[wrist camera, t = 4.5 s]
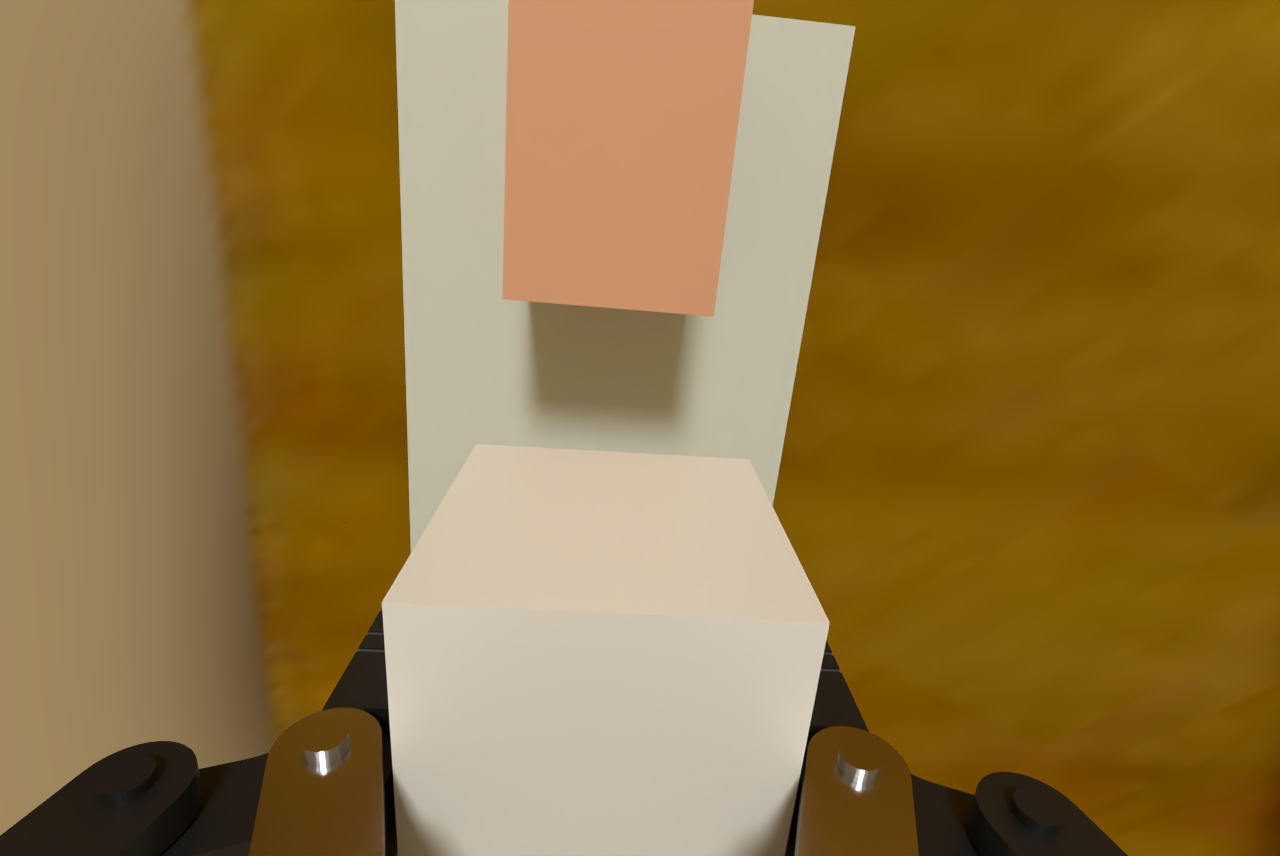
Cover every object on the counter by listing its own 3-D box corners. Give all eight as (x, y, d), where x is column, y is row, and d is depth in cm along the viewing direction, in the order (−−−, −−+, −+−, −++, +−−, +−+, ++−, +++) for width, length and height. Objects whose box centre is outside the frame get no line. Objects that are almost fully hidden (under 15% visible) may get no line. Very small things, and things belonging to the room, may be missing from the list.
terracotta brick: (690, 287, 20) (713, 316, 15) (527, 274, 19) (502, 299, 15) (717, 44, 18) (755, -6, 13) (535, 24, 17) (508, -35, 13)
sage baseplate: (731, 693, 26) (736, 715, 25) (423, 679, 25) (415, 702, 24) (840, 36, 19) (855, 26, 18) (407, -13, 18) (394, -27, 17)
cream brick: (710, 744, 14) (754, 1009, 9) (478, 735, 14) (408, 1004, 9) (749, 458, 12) (829, 622, 7) (476, 443, 12) (382, 601, 7)
